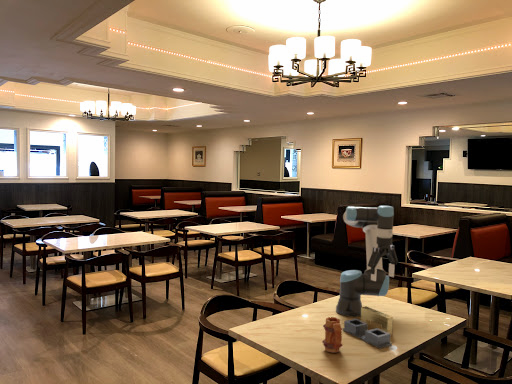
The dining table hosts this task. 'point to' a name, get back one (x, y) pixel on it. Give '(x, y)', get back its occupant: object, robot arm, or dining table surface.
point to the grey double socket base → (367, 333)
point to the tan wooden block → (377, 318)
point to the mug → (332, 335)
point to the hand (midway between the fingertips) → (382, 278)
